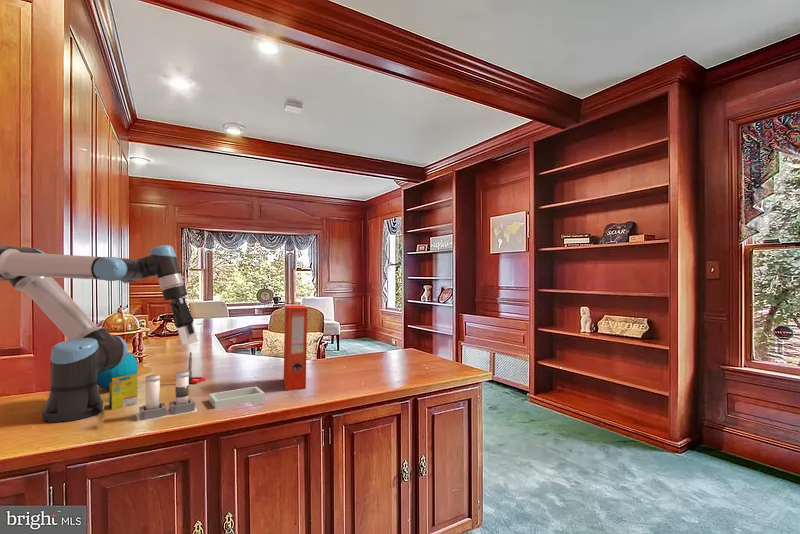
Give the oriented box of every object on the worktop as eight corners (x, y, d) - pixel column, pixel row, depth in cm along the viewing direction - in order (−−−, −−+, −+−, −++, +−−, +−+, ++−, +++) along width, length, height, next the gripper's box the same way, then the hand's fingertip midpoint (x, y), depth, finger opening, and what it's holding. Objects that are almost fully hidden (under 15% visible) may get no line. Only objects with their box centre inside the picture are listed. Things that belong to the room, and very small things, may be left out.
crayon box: (134, 406, 134) (135, 372, 135) (137, 408, 132) (138, 373, 133) (108, 412, 129) (109, 376, 129) (111, 414, 127) (112, 378, 127)
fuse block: (137, 427, 116) (137, 413, 116) (136, 419, 123) (136, 406, 123) (197, 415, 126) (198, 403, 126) (193, 409, 132) (193, 397, 132)
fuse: (145, 418, 119) (146, 378, 119) (144, 414, 122) (145, 375, 122) (160, 415, 121) (160, 376, 122) (159, 412, 124) (159, 374, 125)
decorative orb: (82, 391, 152) (83, 352, 152) (125, 382, 165) (125, 346, 166) (103, 396, 145) (104, 355, 145) (145, 386, 158) (146, 349, 159)
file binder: (302, 378, 173) (303, 304, 173) (306, 388, 156) (307, 307, 157) (283, 379, 170) (284, 305, 171) (285, 390, 154) (286, 308, 154)
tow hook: (189, 379, 172) (177, 384, 162) (190, 349, 172) (179, 352, 163) (208, 379, 172) (198, 384, 163) (210, 349, 173) (200, 352, 163)
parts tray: (215, 413, 128) (215, 401, 128) (208, 405, 136) (209, 393, 136) (264, 403, 138) (264, 392, 138) (256, 396, 146) (256, 386, 146)
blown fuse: (175, 413, 124) (176, 374, 124) (174, 409, 127) (174, 372, 127) (189, 410, 126) (190, 372, 126) (187, 407, 129) (188, 370, 129)
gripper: (191, 279, 136) (209, 338, 136) (178, 289, 155) (193, 340, 156) (167, 285, 131) (185, 346, 132) (156, 294, 151) (172, 347, 151)
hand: (190, 343), depth 144 cm, fingers open, 13 cm apart
